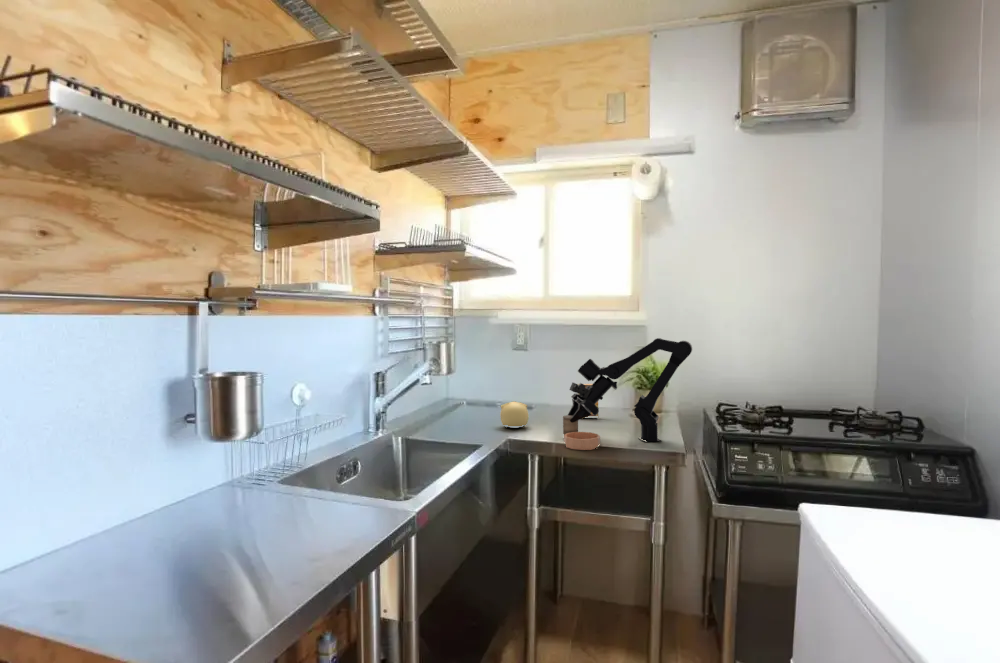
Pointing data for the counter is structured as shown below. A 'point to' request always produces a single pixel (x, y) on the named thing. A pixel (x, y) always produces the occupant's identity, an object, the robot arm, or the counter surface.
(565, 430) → the walnut canister
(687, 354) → the robot arm
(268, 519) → the counter surface
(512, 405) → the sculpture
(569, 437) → the terracotta dish
